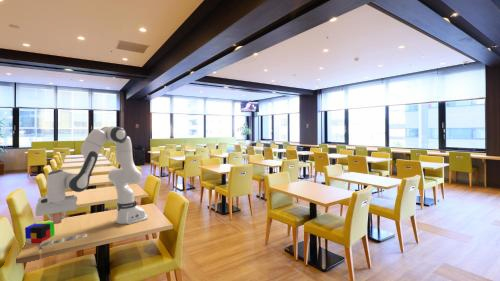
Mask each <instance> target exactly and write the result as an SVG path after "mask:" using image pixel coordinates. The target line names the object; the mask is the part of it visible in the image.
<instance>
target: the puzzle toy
mask: <svg viewBox="0 0 500 281" xmlns="http://www.w3.org/2000/svg"><path fill="white" fill-rule="evenodd" d="M24 236H25V244H26V243H29V244H28V245H39V244H40V243H44V242H46V241H47V240H48V239H50V238H53V237H54V236H55V224H53V221H37V222H35V223H33V224H30V225H28V226H25V228H24Z"/></svg>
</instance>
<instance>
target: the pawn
mask: <svg viewBox="0 0 500 281" xmlns="http://www.w3.org/2000/svg"><path fill="white" fill-rule="evenodd" d="M61 216H62V212H60V213H54V214H52V217H53V221H52V222H53V224H54V225H58V224H61V223H62V222H63V221H62V219H61Z"/></svg>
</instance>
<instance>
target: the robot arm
mask: <svg viewBox="0 0 500 281" xmlns="http://www.w3.org/2000/svg"><path fill="white" fill-rule="evenodd" d="M106 142H108V143H114V145H115V161H116V163H117V164H118V165H120V167H121V168H114V169H111V170H110V171H109V173H108V176H107V178H108V180H109V181H110V183H112V184H113V186H114V188H115V189H116V194H117V195H116V196H117V203H116V210H117V213H116V214H117V215H116V220H115V223H116V224H119V225H120V224H121V225H123V224H124V225H131V224H134V223H138V222H142V221H145V220H148V219H149V214H147V213H146V211H145V209H144V208H142V207H141V206H139V201H136V200H135V190H133V188H132V187H130V186H129V185H133V184H134V185H135V184H140V182H141V180H142V178H143V173H142V172H141V171H140V170H139V169H138V167H137V165H135V162H134V158H133V144H132V140H131V137H130V136H128V135H127V132H126V130H125V129H124V128H123V127H120V126H104V127H102V128H100V129H99V128H95V129H91V131H90V133H88V135H87V137H86V138H85V139H84V141H83V143H81V146H80V153H81V155H82V156H83V158H84V159H83V160H84V161H83V164H82V166H81V167H80V170H79V172H78V173H77V174H76V173H72V172H71V173H70V172H68V171H66V170H65V171H64V170H63V169H56V170H51V171H50V172H49V173H47V176H46V188H47V191H46V192H47V193H46V195H44V196H41V197H38V199H37V203H36V206H35V216H37V217H39V216H40V217H41V216H46V215H47V217H48V219H49V220H50V221H49V222H53V216H51V215H53V214H54V213H60V212H61V213H63V215H61V220H65V216H66V214H67V212H70V211H76V210H77V209H78V204H77V202H78V197H77V195H74V194H72V195H66V191H67V190H70V191H73V192H75V193H81V192H84V191H86V190H87V188H88V187H89V186H90V178H91V175H92V172H93V171H94V169H95V166H96V163H97V161H98V158H99V154H100V152H101V151H102V148H103V147H104V145H105V143H106Z"/></svg>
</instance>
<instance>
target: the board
mask: <svg viewBox="0 0 500 281" xmlns="http://www.w3.org/2000/svg"><path fill="white" fill-rule="evenodd" d="M86 237H87V238H88V234H87V233H82V234H77V235H74V236H69V237H65V238H60V239H56V240H51V241H44V242H42V243H40V244H37V245H38V249H37V250H38V251H41V250H42V249H43V247H47V246H51V245H56V244H61V243H64V242H68V241H73V240H78V239H83V238H86Z"/></svg>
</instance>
